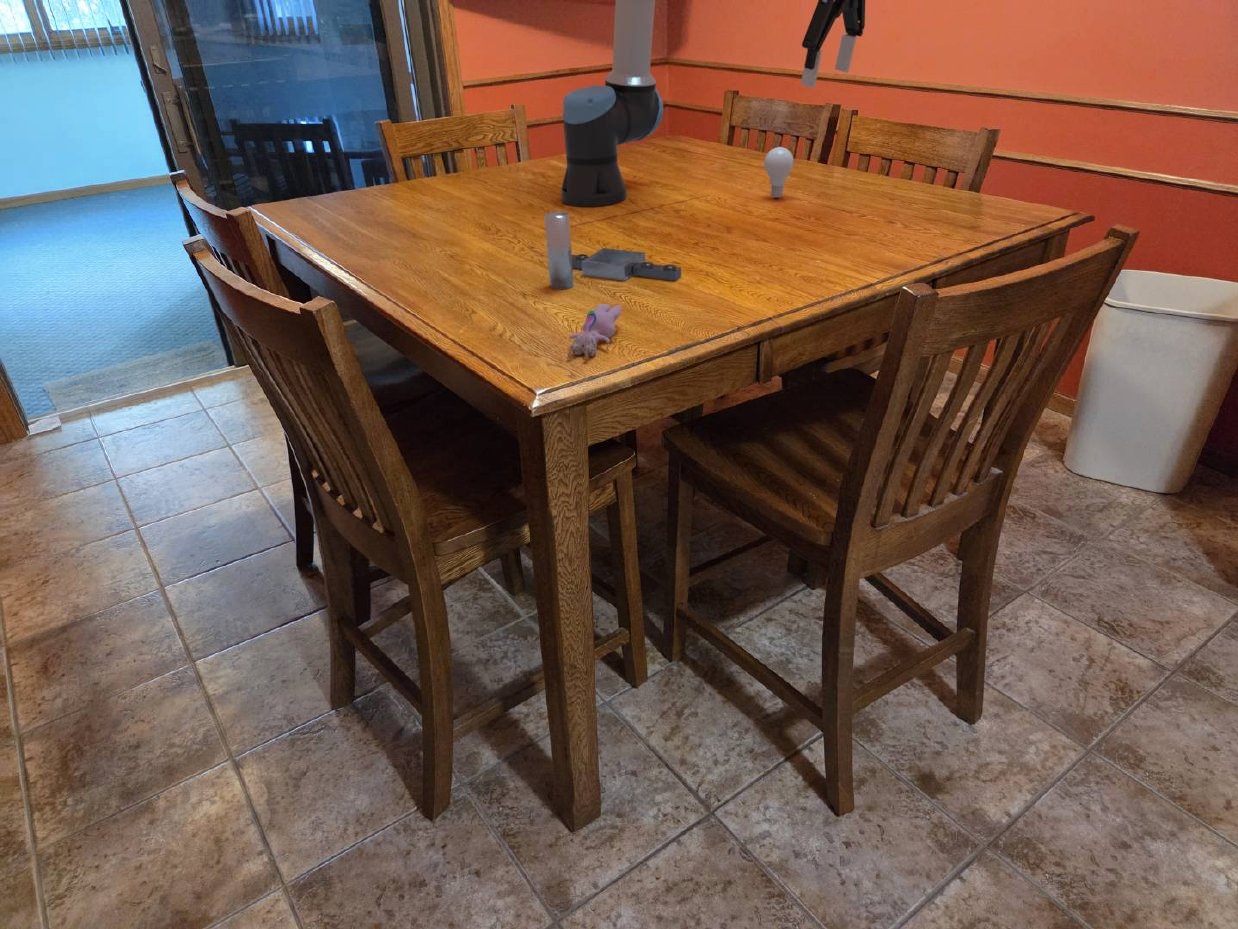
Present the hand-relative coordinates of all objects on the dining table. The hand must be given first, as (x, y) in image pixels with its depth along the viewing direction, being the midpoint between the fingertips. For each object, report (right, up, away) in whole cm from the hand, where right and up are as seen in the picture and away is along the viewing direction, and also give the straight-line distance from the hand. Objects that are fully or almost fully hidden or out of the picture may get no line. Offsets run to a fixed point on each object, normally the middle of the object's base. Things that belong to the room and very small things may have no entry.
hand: (825, 78), depth 160 cm
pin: (-51, -45, -21) cm, 71 cm away
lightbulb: (-5, -16, +24) cm, 29 cm away
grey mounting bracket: (-42, -42, -15) cm, 61 cm away
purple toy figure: (-44, -59, -42) cm, 84 cm away
